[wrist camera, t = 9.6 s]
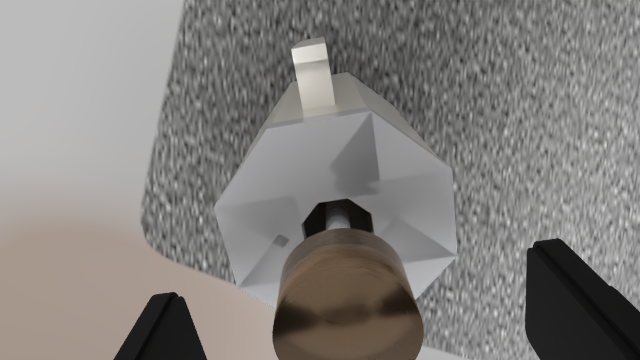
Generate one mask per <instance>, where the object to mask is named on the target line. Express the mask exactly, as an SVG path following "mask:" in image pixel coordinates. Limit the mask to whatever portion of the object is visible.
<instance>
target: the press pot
mask: <svg viewBox="0 0 640 360" xmlns="http://www.w3.org/2000/svg"><path fill="white" fill-rule="evenodd" d="M291 51H292V56H293V62H294V67H295V72H296V77H297V81H294V82H291V83H290V85H289V86H288V88H287V89H286V91H285V92H284V94H283V95H282V97H281V98H280V100H279V101H278V103H277V104H276V106H275V107H274V109H273V110H272V112H271V113H270V115H269V116H268V118H267V119H266V121H265V122H264V124H263V125H262V127H261V128H260V130H259V132H258V134H257V136H256V137H255V139H254V141H253V143H252V145H251V147H250V148H249V150H248V152H247V154H246V156H245V157H244V159H243V161H242V163H241V165H240V166H239V168H238V170H237V172H236V174H235V175H234V177H233V178H232V180H231V181H230V183H229V184H228V186H227V187H226V189H225V190H224V192H223V193H222V195H221V196H220V198H219V199H218V201H217V203H216V204H215V206H214V210H215V213H216V217H217V220H218V224H219V227H220V230H221V234H222V237H223V240H224V244H225V247H226V250H227V254H228V257H229V261H230V264H231V267H232V271H233V274H234V277H235V281H236V284H237V287H238V289H240V290H242V291H244V292H245V293H247V294H249V295H251V296H253V297H255V298H256V299H258V300H260V301H262V302H263V303H265V304H267V305H269V306H271V307H272V308H274V309H276V306H277V299H278V292H279V286H280V279H281V273H282V269H283V266H284V263H285V261H286V259H287V258H288V256H289V255H290V253H291V252H292V251H293V250H294V249H295V247H296V246H298V245H299V244H300V243H301V242H302V241H304V240H305V239H307V238H308V237H310V236H312V235H314V234H317V233H319V232H322V231H326V218H325V202H327V201H334V200H340V199H346V201H347V207H348V214H349V221H350V227H351V228H352V229H359V230H363V231H367V232H369V233H372V234H374V235H376V236H378V237H380V238H382V239H383V240H384V241H386V242H387V243H388V244H389V245H390V246H391V247H392V248H393V249H394V250H395V251H396V252H397V254H398V255H399V257H400V259H401V261H402V263H403V266H404V269H405V272H406V275H407V278H408V281H409V284H410V286H411V289H412V292H413V295H414V298H415V299H416V298H417V297H418V296H419V295H420V294H421V293H422V292H423V291H424V290H425V289H426V288H427V287H428V286H429V285H430V284H431V283H432V282H433V281H434V280H435V279H436V277H437V276H438V275H439V274H440V273H441V272H442V271H443V270H444V269H445V268H446V267H447V266H448V265H449V264H450V263H451V262H452V261H453V260H454V259H455V258H456V257H457V243H456V227H455V210H454V193H453V176H452V169H451V167H450V166H449V165H448V164H447V163H446V162H445V161H443V160H442V159H441V158H439V157H438V156H437V155H435V153H434V152H433V151H432V150H431V149H430V148H429V147H428V145H427V144H426V143H425V142H424V141H423V140H422V138H421V137H420V136H419V135H418V134H417V133H416V132H415V130H414V129H413V128H412V127H411V126H410V125H409V123H408V122H407V121H406V120H405V119H404V118H403V117H402V115H401V114H400V113H399V112H398V111H397V110H396V108H395V107H394V106H393V105H392V104H391V103H389V102H388V101H387V100H385V99H384V98H382V97H381V96H380V95H378V94H377V93H376V92H374V91H373V90H372V89H370V88H369V87H367V86H366V85H365V84H363V83H362V82H361V81H359V80H358V79H357V78H355V77H354V76H353V75H351V74H350V73H348V72H344V73H339V74H333V75H331V74H330V68H329V61H328V55H327V49H326V43H325V39H324V37H319V38H313V39H308V40H303V41H299V42H298V43H297V44H296V45H295V46H294V47H293V48H292V49H291Z"/></svg>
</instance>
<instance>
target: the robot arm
mask: <svg viewBox="0 0 640 360" xmlns="http://www.w3.org/2000/svg"><path fill="white" fill-rule="evenodd" d="M525 330H526V335H527V338H528V340H529V342H530V344H531V345H532V347H533V349H534V350H535V352H536V354H537V355H538V357H539V358H540V360H640V312H639V311H638V310H637V309H636V308H635V307H634V306H633V305H632V304H631V303H630V302H629V301H628V300H627V299H626V298H625V297H624V296H623V295H622V294H621V293H620V292H619V291H617V290H616V289H615V288H613V287H612V286H609V285H608V284H607V283H606V282H605V281H604V280H603V279H602V278H601V277H600V276H599V275H597V274H596V273H595V272H594V271H593V270H592V269H591V268H590V267H589V266H588V265H587V264H586V263H585V262H584V261H583V260H582V259H581V258H580V257H579V256H578V255H577V254H576V253H575V252H574V251H573V250H572V249H571V248H570V247H569V246H568V245H567V244H565V243H564V242H563V241H562V240H561V239H558V238H557V239H550V240H543V241H536V242H535V243H534V245H533V248H529V249H528V250H527V272H526V314H525ZM114 360H207V358H206V355H205V353H204V350H203V347H202V345H201V342H200V340H199V337H198V334H197V331H196V329H195V326H194V323H193V320H192V318H191V315H190V312H189V310H188V307H187V305H186V302H185V300H184V298H183V297H181V296H180V297H179V296H178V295H177V294H176V293H175V292H170V293H163V294H156V295H153V296H152V297H151V299H150V300H149V302H148V303H147V305H146V307H145V308H144V310H143V312H142V314H141V315H140V317H139V318H138V320H137V322H136V323H135V325H134V327H133V328H132V330H131V332H130V333H129V335H128V337H127V338H126V340H125V341H124V343H123V345H122V346H121V348H120V350H119V351H118V353H117V355H116V356H115V358H114Z"/></svg>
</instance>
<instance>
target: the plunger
mask: <svg viewBox="0 0 640 360" xmlns="http://www.w3.org/2000/svg"><path fill="white" fill-rule="evenodd" d="M325 218H326V231H322V232H319V233H317V234H314V235H312V236H310V237H308V238H307V239H305V240H304V241H302V242H301V243H300V244H299V245H298V246H296V247H295V249H294V250H293V251H292V252H291V253H290V255H289V256H288V258H287V259H286V261H285V263H284V266H283V269H282V273H281V279H280V286H279V292H278V299H277V306H276V312H275V319H274V325H273V332H272V333H273V345H274V349H275V352H276V355H277V357H278V359H279V360H415V359H416V358H417V356H418V354H419V351H420V349H421V346H422V342H423V323H422V319H421V316H420V313H419V310H418V307H417V304H416V301H415V298H414V295H413V292H412V289H411V286H410V284H409V281H408V278H407V275H406V272H405V269H404V266H403V263H402V261H401V259H400V257H399V255H398V254H397V252H396V251H395V250H394V249H393V248H392V247H391V246H390V245H389V244H388V243H387V242H386V241H384V240H383V239H382V238H380V237H378V236H376V235H374V234H372V233H369V232H367V231H363V230H359V229H352V228H351V227H350V221H349V214H348V207H347V201H346V199H340V200H334V201H327V202H325Z"/></svg>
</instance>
